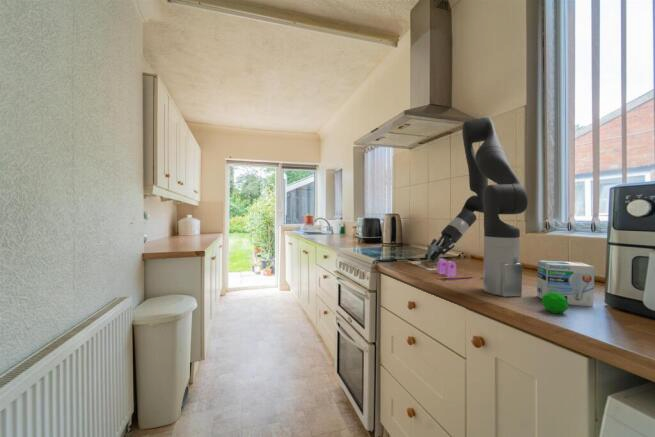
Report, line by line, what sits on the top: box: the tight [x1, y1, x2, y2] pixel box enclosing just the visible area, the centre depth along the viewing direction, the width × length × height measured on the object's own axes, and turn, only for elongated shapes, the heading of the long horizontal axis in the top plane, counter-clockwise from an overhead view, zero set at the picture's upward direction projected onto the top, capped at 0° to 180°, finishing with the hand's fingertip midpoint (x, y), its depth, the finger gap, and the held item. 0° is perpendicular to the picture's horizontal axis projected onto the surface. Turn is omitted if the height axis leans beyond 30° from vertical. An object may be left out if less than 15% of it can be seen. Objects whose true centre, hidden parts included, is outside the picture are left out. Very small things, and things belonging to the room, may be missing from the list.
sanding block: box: [420, 244, 443, 269], centre depth 117 cm, size 10×6×9 cm, turn 9°
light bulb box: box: [536, 259, 596, 307], centre depth 76 cm, size 11×7×11 cm, turn 73°
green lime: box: [541, 292, 569, 314], centre depth 67 cm, size 5×5×5 cm
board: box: [407, 260, 437, 271], centre depth 121 cm, size 20×11×2 cm, turn 9°
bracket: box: [436, 258, 473, 281], centre depth 103 cm, size 13×6×7 cm, turn 108°
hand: (428, 258), depth 117 cm, fingers closed on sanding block, 3 cm apart
